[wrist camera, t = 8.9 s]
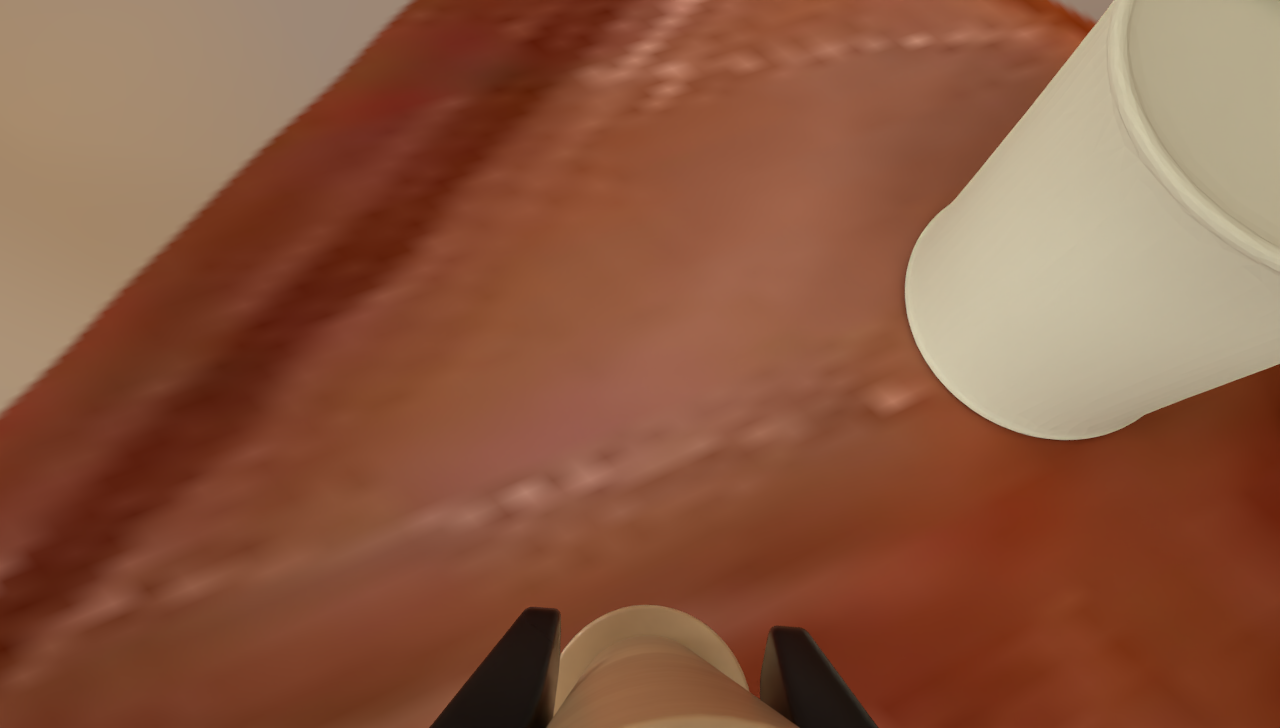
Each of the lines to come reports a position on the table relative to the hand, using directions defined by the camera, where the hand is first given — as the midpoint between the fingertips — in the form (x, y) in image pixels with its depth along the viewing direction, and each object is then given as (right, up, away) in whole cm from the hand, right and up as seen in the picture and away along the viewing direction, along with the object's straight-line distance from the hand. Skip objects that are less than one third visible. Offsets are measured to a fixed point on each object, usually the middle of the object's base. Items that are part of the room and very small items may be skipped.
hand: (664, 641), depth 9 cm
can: (+13, +5, +16) cm, 22 cm away
